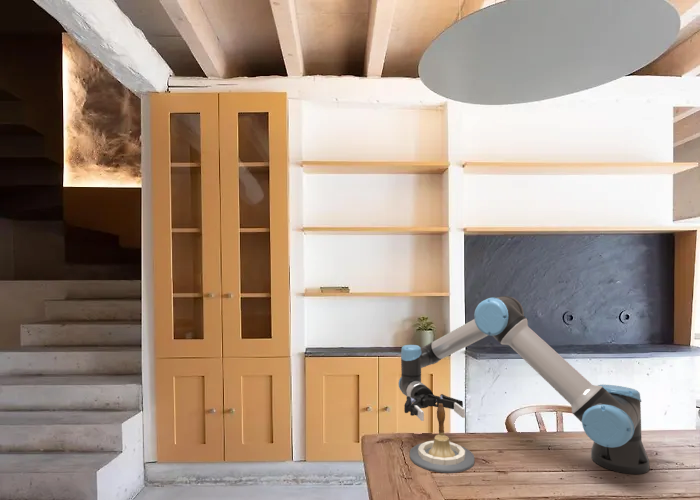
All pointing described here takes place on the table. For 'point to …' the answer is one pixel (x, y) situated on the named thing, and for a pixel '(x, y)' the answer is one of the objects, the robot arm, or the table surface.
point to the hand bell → (441, 438)
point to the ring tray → (442, 467)
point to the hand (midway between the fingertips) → (443, 415)
